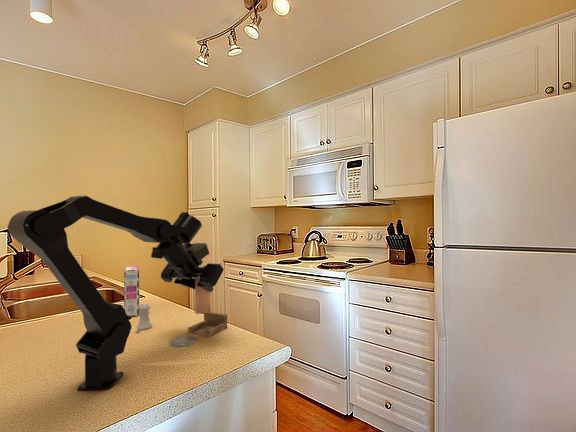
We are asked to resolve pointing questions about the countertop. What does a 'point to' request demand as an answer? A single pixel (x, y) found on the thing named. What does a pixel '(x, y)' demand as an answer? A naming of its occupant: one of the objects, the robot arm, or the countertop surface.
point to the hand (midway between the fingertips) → (205, 290)
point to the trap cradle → (210, 325)
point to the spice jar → (202, 299)
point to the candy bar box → (131, 291)
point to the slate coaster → (182, 341)
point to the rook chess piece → (144, 318)
